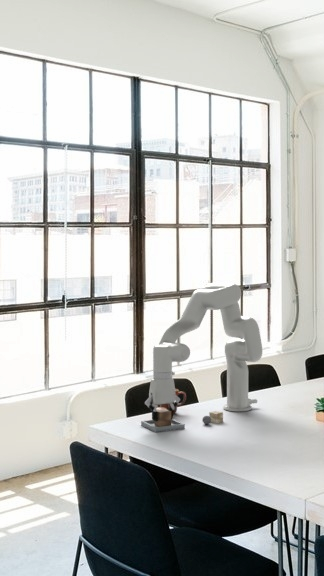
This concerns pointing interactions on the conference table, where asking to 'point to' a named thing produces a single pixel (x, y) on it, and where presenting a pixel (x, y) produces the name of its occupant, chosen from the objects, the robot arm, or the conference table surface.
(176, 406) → the mug
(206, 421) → the grey ball
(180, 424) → the tray
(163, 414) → the walnut block
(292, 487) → the conference table surface
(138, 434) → the conference table surface
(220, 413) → the beech cube
